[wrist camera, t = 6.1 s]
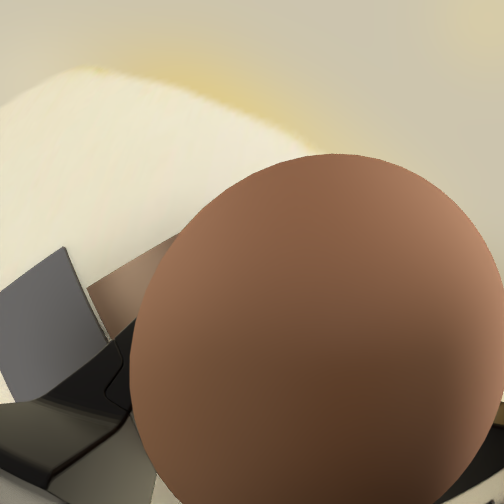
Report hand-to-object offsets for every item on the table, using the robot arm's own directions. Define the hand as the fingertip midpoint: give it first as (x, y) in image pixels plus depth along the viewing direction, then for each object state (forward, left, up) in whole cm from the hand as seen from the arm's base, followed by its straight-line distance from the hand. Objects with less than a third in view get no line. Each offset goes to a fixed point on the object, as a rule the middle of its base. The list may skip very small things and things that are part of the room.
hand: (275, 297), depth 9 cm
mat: (-14, +5, -10) cm, 18 cm away
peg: (-1, -1, -7) cm, 7 cm away
